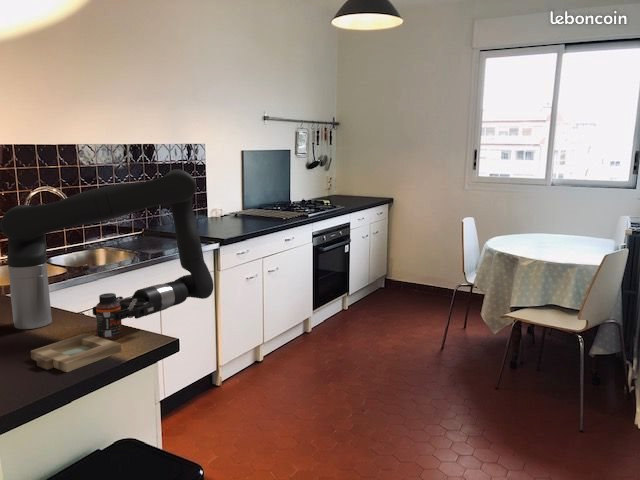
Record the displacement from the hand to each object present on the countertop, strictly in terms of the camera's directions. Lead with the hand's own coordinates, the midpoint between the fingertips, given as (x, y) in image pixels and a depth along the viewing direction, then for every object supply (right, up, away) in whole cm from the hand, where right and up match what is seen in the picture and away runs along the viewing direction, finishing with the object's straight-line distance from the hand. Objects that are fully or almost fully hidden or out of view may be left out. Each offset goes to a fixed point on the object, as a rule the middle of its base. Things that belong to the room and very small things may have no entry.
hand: (103, 314), depth 133 cm
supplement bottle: (+1, -6, +2) cm, 7 cm away
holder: (-2, -8, -10) cm, 13 cm away
